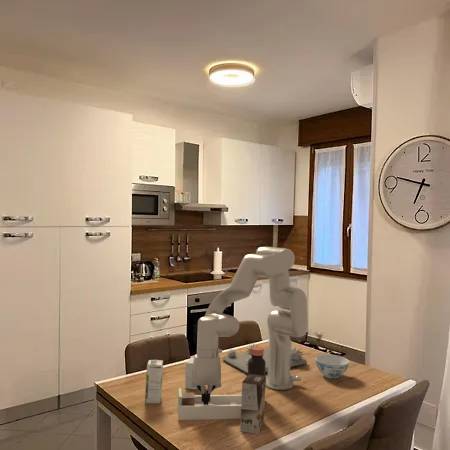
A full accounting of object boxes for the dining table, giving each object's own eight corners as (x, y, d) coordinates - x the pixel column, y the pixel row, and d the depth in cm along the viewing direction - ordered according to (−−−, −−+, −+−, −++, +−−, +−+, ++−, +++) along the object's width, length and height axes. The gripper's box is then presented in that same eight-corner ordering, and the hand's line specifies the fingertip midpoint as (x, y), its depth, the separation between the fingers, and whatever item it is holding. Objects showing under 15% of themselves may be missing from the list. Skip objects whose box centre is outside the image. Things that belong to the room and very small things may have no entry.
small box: (197, 390, 172) (198, 364, 172) (184, 388, 173) (185, 362, 173) (202, 383, 179) (203, 358, 179) (190, 381, 181) (191, 356, 180)
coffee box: (258, 434, 137) (260, 385, 137) (239, 431, 139) (241, 382, 139) (264, 422, 146) (266, 375, 146) (246, 419, 148) (248, 373, 148)
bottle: (259, 405, 159) (261, 352, 159) (243, 400, 163) (245, 348, 163) (267, 399, 165) (269, 347, 165) (251, 394, 169) (253, 344, 169)
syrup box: (146, 397, 163) (147, 359, 163) (161, 397, 163) (163, 359, 163) (144, 403, 157) (146, 364, 157) (160, 403, 158) (162, 364, 157)
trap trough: (253, 406, 158) (253, 386, 158) (258, 418, 149) (259, 396, 149) (177, 407, 155) (178, 387, 155) (178, 419, 145) (178, 398, 145)
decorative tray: (275, 352, 228) (276, 333, 228) (309, 366, 206) (310, 346, 206) (220, 361, 209) (221, 341, 209) (251, 378, 188) (252, 356, 188)
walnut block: (193, 403, 153) (193, 392, 153) (194, 409, 148) (194, 397, 148) (180, 403, 152) (181, 392, 152) (181, 409, 148) (181, 398, 148)
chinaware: (311, 379, 189) (312, 361, 189) (317, 368, 203) (318, 352, 203) (346, 385, 183) (347, 367, 183) (350, 374, 197) (350, 357, 197)
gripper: (226, 349, 156) (225, 398, 156) (186, 349, 154) (184, 399, 154) (229, 355, 148) (227, 407, 148) (186, 355, 146) (184, 408, 147)
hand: (205, 403), depth 151 cm, fingers closed
